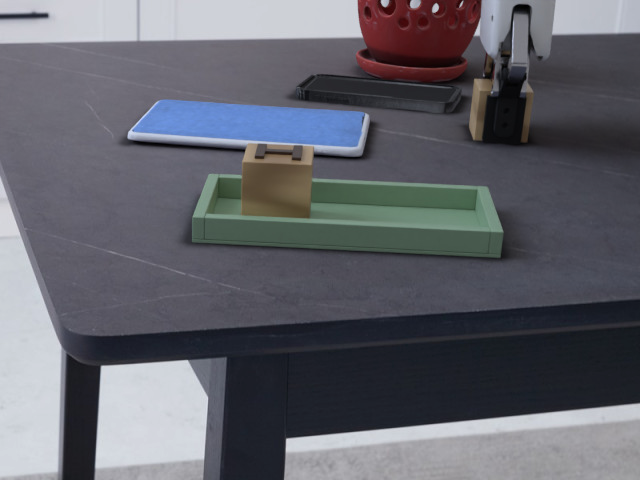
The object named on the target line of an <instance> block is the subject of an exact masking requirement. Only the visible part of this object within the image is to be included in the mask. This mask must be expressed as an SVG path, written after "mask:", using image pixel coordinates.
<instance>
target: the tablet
mask: <svg viewBox="0 0 640 480" xmlns="http://www.w3.org/2000/svg"><path fill="white" fill-rule="evenodd" d="M370 121H371V120H370V115H369V114H368V113H366V112H363V111H355V110H337V109H321V108H320V109H319V108H303V107H290V106H289V107H287V106H272V105H257V104H255V105H254V104H241V103H240V104H239V103H223V102H211V101H194V100H181V99H165V98H164V99H160V100H157V101H156V102H155V103H154V104H153V105H152V106H151V107H150V109H149V110H147V111H146V113H145V114H143V116H142V117H141V118H140V119H139V120H138V121H137V122H136V123H135V124H134V125H133V126H132V127H131V128H130V130H128V132H127V139H128V140H130V141H136V142H143V143H157V144H167V145H180V146H192V147H205V148H216V149H217V148H218V149H230V150H245V151H246V148H247V144H248V143H255V144H258V143H260V144H277V145H303V146H314V156H328V157H329V156H330V157H345V158H359V157H362V156H363V154H364V150H365V146H366V141H367V137H368V132H369V128H370V123H371V122H370Z"/></svg>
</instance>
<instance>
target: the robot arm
mask: <svg viewBox="0 0 640 480" xmlns="http://www.w3.org/2000/svg"><path fill="white" fill-rule="evenodd" d="M555 10H556V0H482V5H481V18H480V21H479V39H480V42H481V44H482V47H483V48H484V50H485V57H484V63H483V71H482V79H491V78H492V87H491V95H487V100H486V108H485V117H484V125H483V133H482V141H481V142H482V143H484V144H500V145H502V144H503V145H520V144H521V143H522V142H521V137H522V130H523V123H524V115H525V108H526V101H527V97H526V93H527V83H528V84H529V82H528V81H529V73H530V72H529V71H530V61H531V52H532V53H533V55H534V57H536V59H537V60H538V61H539V62H543V63H544V62H545V61H547V60H548V58H550V55H551V48H552V40H553V31H554V28H553V27H554V22H555V21H554V20H555V19H554V18H555Z"/></svg>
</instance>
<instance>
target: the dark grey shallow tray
mask: <svg viewBox="0 0 640 480" xmlns="http://www.w3.org/2000/svg"><path fill="white" fill-rule="evenodd" d="M462 92H463V87H461V86H459V85H453V84H444V83H443V84H442V83H421V82H409V81H398V80H387V79H381V78H376V77H365V76H364V77H363V76H352V75H340V74H330V73H329V74H328V73H314V74H311V75H309V76H308V77H307V78H306V79H304V80H302V82H300V83H299V84H298V85H297V86H296V87H295V98H296V99H297V100H300V101H306V102H315V103H327V104H336V105H337V104H338V105H346V106H347V105H349V106H358V107H368V108H381V109H390V110H401V111H411V112H422V113H432V114H450V113H453V111H454V110H455V108H456V107H457V105H458V104H459V102H460V101H461V99H462Z"/></svg>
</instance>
